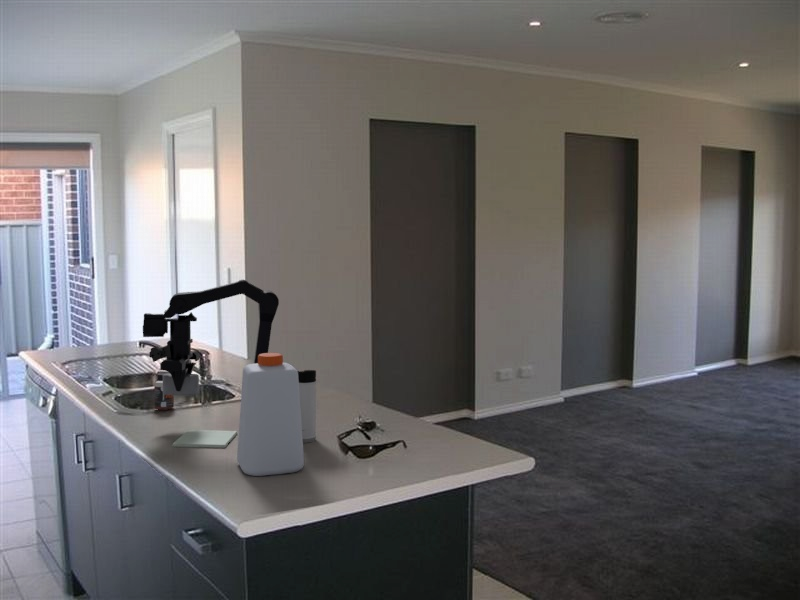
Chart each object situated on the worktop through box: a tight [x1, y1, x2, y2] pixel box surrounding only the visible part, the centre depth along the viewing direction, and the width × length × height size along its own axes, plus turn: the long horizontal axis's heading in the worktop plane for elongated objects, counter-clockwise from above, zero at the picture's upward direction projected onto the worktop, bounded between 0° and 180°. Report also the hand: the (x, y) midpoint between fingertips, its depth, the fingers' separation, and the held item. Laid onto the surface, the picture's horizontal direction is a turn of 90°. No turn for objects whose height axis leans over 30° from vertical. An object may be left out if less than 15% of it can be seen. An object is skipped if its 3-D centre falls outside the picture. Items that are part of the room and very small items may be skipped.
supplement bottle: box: [153, 372, 175, 411], centre depth 250 cm, size 6×6×11 cm
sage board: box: [172, 429, 238, 449], centre depth 215 cm, size 14×14×1 cm
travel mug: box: [297, 369, 317, 444], centre depth 215 cm, size 6×7×20 cm
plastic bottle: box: [236, 352, 305, 477], centre depth 191 cm, size 15×15×28 cm
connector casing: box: [154, 373, 200, 396], centre depth 228 cm, size 12×4×6 cm, turn 89°
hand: (180, 389), depth 228 cm, fingers closed on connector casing, 4 cm apart
